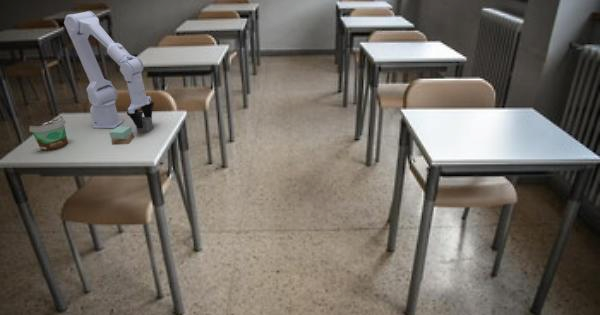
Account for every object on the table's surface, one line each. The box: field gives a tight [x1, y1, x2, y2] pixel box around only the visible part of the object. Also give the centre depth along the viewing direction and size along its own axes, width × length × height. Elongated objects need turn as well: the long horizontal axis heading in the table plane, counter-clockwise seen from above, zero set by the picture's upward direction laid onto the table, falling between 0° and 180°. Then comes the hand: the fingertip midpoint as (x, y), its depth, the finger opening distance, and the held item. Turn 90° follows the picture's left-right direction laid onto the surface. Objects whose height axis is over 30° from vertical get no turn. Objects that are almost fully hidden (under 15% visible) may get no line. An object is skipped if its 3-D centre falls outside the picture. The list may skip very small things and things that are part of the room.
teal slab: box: [109, 125, 133, 139], centre depth 155 cm, size 6×6×2 cm
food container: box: [29, 115, 69, 152], centre depth 151 cm, size 12×6×10 cm, turn 148°
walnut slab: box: [110, 131, 135, 145], centre depth 156 cm, size 6×6×2 cm
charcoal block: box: [135, 116, 154, 134], centre depth 164 cm, size 4×4×5 cm
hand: (144, 124), depth 164 cm, fingers open, 7 cm apart
